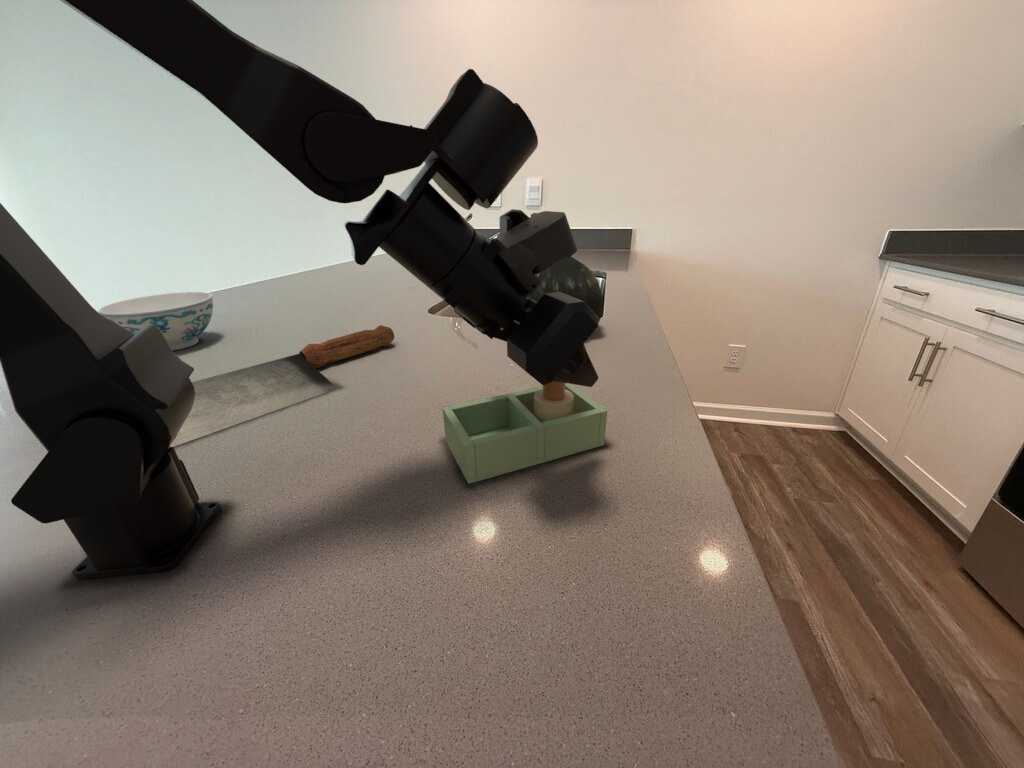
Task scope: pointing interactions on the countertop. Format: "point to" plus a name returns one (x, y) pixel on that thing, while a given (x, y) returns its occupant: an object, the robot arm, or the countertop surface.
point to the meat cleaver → (271, 384)
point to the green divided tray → (518, 433)
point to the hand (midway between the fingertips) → (567, 364)
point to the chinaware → (165, 315)
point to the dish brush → (553, 402)
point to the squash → (570, 283)
